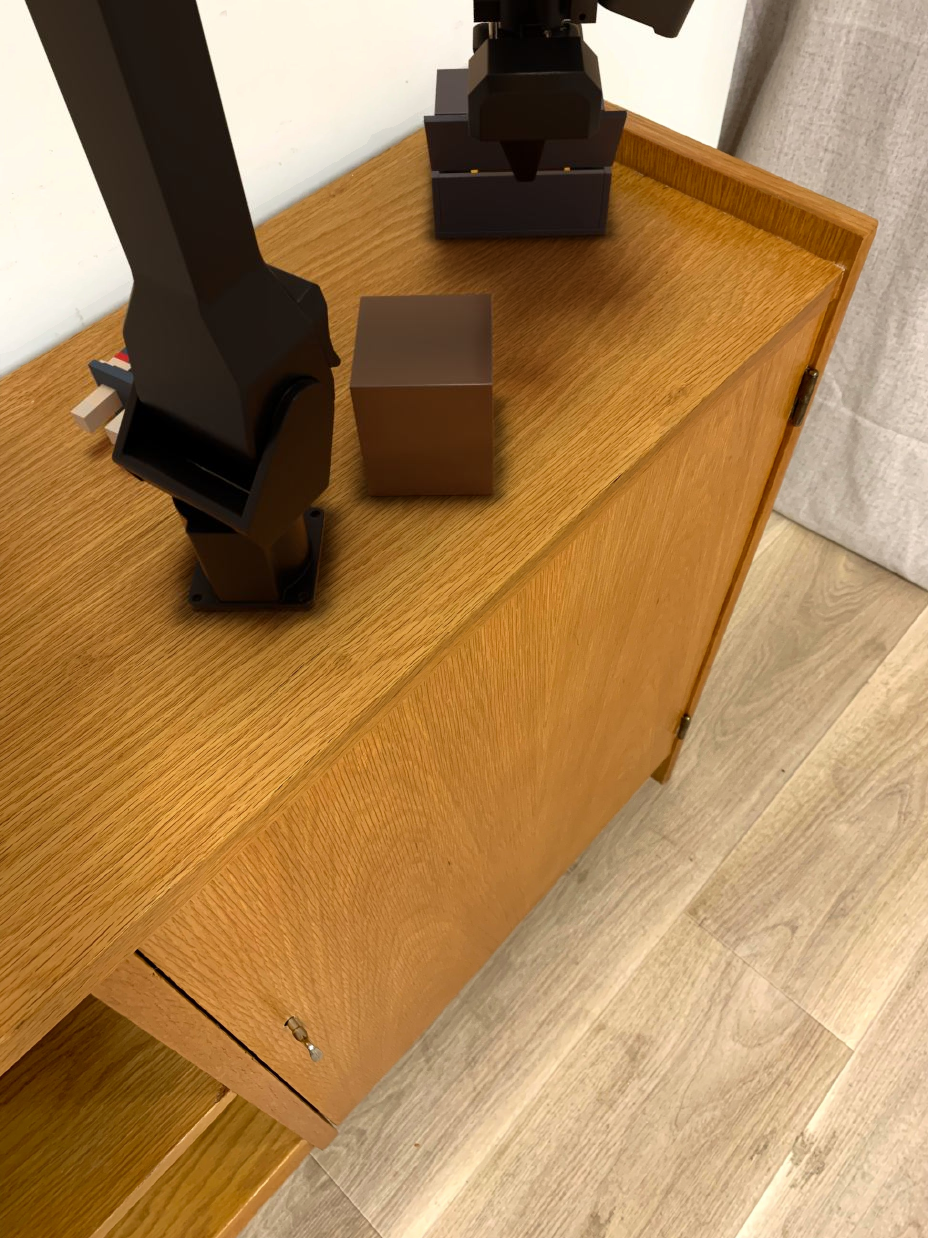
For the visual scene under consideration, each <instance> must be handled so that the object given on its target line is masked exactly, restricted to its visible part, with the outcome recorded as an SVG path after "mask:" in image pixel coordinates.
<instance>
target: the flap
mask: <svg viewBox="0 0 928 1238" xmlns="http://www.w3.org/2000/svg"><path fill="white" fill-rule="evenodd" d="M627 118H628V110H625V109H624V110H605V111H601V115H600V126H599V133H597V134H595V135H594V136H592V137H590V138H589V139H566V140H546V143H545V147H544V150H543V154H542V157H541V161H540V164H539V168H577V167H611V168H612V167H613V166H614V163H615V160H616V156H617V153H618V149H619V145H620V142H621V138H622V136H623V132H624V128H625V125H626V121H627ZM423 126H424V132H425V139H426V146H427V152H428V158H429V159H428V160H429V165H430V171H431V172H432V171H456V170H497V169H511V167H510V165H509V163H508V160H507V158H506V156H505V153H504V151H503V149H502V147H501V144H500V142H499V141H490V142H480V141H478V140H476V139H474V138H472V137H470V136H469V124H468V115H435V116H434V115H423Z"/></svg>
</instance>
